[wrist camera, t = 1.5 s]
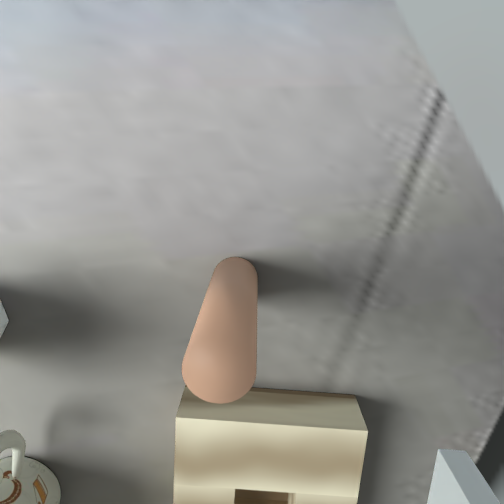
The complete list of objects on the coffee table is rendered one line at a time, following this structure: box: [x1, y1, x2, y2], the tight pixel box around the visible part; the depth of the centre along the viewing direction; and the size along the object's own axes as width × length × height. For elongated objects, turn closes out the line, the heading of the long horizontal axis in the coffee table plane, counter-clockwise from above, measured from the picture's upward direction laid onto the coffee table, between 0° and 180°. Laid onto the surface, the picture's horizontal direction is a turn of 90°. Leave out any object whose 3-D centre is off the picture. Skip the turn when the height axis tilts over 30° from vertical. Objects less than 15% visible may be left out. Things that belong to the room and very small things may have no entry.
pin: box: [182, 257, 258, 404], centre depth 23 cm, size 3×3×12 cm
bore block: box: [173, 385, 368, 504], centre depth 31 cm, size 14×12×4 cm
